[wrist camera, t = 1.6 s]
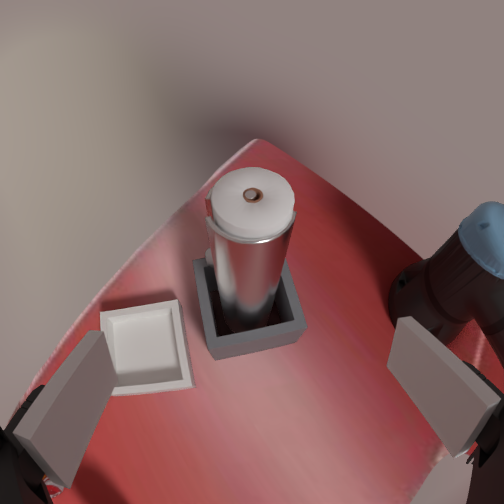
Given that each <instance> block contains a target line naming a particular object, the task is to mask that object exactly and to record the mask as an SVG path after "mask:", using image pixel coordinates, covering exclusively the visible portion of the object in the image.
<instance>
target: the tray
mask: <svg viewBox="0 0 504 504" xmlns="http://www.w3.org/2000/svg"><path fill="white" fill-rule="evenodd" d="M100 325H101V331H104V334H105V338H106V341H107V345H108V349H109V352H110V356H111V359H112V362H113V366H114V369H115V372H116V375H117V378H118V381H117V383H116V385H115V388H114V390H113V392H112V394H111V396H127V395H139V394H150V393H159V392H167V391H175V390H182V389H189V388H196V385H195V380H194V375H193V370H192V365H191V359H190V354H189V348H188V342H187V336H186V330H185V324H184V318H183V311H182V306H181V304H180V303H179V301H178V299H176V300H171V301H165V302H159V303H154V304H148V305H142V306H136V307H130V308H124V309H118V310H112V311H105V312H100Z"/></svg>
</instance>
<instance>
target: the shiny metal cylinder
mask: <svg viewBox="0 0 504 504" xmlns="http://www.w3.org/2000/svg"><path fill="white" fill-rule="evenodd" d="M205 202H206V209H207V215H208V217H205V221H206V227H207V232H208V238H209V243H210V249H211V254H212V259H213V265H214V270H215V275H216V280H217V285H218V290H219V295H220V300H221V305H222V310H223V314H224V319H225V322H226V324H227V326H228V327H229V328H230V329H231V330H232V331H233V332H235V333H240V332H245V331H250V330H254V329H259V328H263V327H265V326H266V325H267V323H268V320H269V316H270V313H271V309H272V306H273V302H274V298H275V295H276V291H277V287H278V283H279V280H280V276H281V272H282V268H283V265H284V261H285V257H286V253H287V249H288V245H289V241H290V237H291V233H292V229H293V225H294V221H295V217H296V213H297V212H295V211H293V206H294V202H295V201H294V193H293V190H292V188H291V186H290V185H289V184H288V182H287V181H286V180H285V179H284V178H283V177H282V176H280V175H279V174H277V173H274V172H272V171H269V170H266V169H263V168H259V167H247V168H242V169H238V170H234V171H231V172H229V173H227V174H226V175H224V176H223V177H221V178H220V179H219V180H218V181H217V182H216V184H215V185H214V186H213V187H212V188H211V189H210V190H209V192H208V194H207V196H206V198H205Z"/></svg>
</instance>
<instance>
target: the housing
mask: <svg viewBox="0 0 504 504" xmlns="http://www.w3.org/2000/svg"><path fill="white" fill-rule="evenodd" d="M205 257H206V258H202V259H196V260H193V266H194V273H195V279H196V285H197V292H198V298H199V303H200V309H201V315H202V320H203V326H204V331H205V336H206V342H207V347H208V350H209V352H210V353H211V355H212V357H213V358H214V360H220V359H225V358H230V357H235V356H240V355H245V354H249V353H254V352H258V351H263V350H267V349H271V348H275V347H280V346H284V345H288V344H291V343H295V342H296V341H297V340H298V339H299V338H300V336H301V335H302V334H303V332H304V331H305V330H306V329H307V324H306V321H305V317H304V314H303V311H302V308H301V305H300V301H299V298H298V295H297V292H296V289H295V286H294V283H293V280H292V277H291V273H290V270H289V267H288V264H287V261H286V258H285V261H284V265H283V268H282V272H281V276H280V280H279V283H278V287H277V291H276V295H275V298H274V299H275V302H276V306H277V309H278V313H279V316H280V320H281V324H276V325H272V326H268V327H263V328H259V329H254V330H250V331H245V332H240V333H236V334H231V335H226V336H220V337H219V335H218V330H217V325H216V320H215V315H214V310H213V305H212V300H211V294H210V292H212V291H217V290H218V285H217V280H216V275H215V270H214V265H213V259H212V254H211V249H210V248H208V249H207V250H206V252H205Z"/></svg>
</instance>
